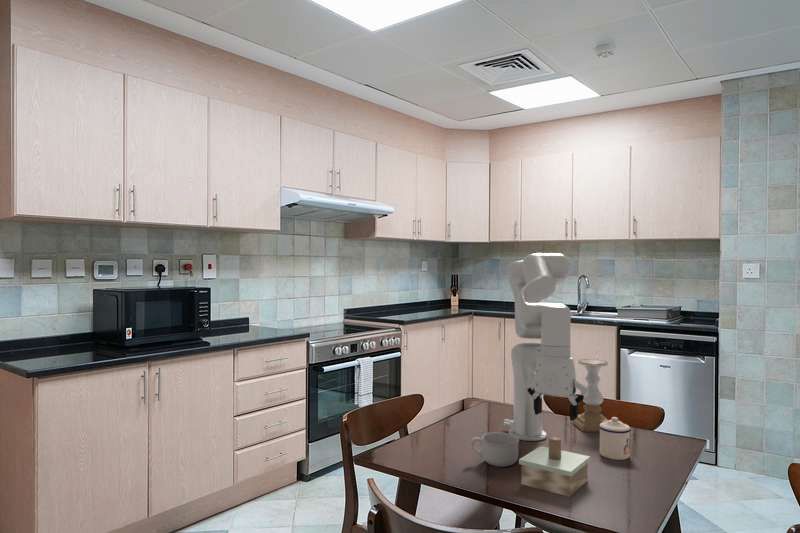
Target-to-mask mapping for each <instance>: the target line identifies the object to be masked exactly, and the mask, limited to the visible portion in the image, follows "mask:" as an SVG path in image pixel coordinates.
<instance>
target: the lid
mask: <svg viewBox="0 0 800 533" xmlns="http://www.w3.org/2000/svg"><path fill="white" fill-rule="evenodd" d="M590 462H591V456H589V455H586V454H585V455H584V454H580V453H576V452H571V451H566V450H562V439H561V438H559V437H557V436H552V437H551V436H550V437H549V438H548V447H547V446H542V445H540V446H538V447H536V448H535V449H533V450H532V451H530V452H528V453H527V454H526V455H524V456H522V457H520V458H519V459H518V464H519V465H521V466H522V465H525V466H529V467H533V468H538V469H542V470H546V471H550V472H554V473H558V474H562V475H566V476H570V477H571V476H572V475H573V474H575V473H576V472H577V471H578V470H580V469H581V468H582V467H583V466H584V465H586V464H587V463H590Z"/></svg>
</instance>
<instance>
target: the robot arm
mask: <svg viewBox="0 0 800 533" xmlns="http://www.w3.org/2000/svg"><path fill="white" fill-rule="evenodd" d="M569 275H570V263H569V260H568V258H567V256H566V255H565V254H562V253H556V252H555V253H554V252H553V253H552V252H549V253H548V252H547V253H545V252H544V253H542V252H536V253H531V254H528V255H526V256H525V257H524V258H523V259H522V260H521V259H520V260H515V261H512V262H511V263H510V264H509V265H508V268H507V278H508V283H509V285H510V288H511V291H512V293H513V297H514V327H515V334H516V336H517V337H518V338H521V339H524V340H540V342H522V343H517V344H516V345H514V346H513V347H512V348H511V352H510V353H511V354H510V358H511V364H512V365H511V366H512V372H513V373H512V374H513V375H512V376H513V412H512V413H513V420H510V419H508V418H505V419H503V426H504V427H509V428H510V429H509V430H508V434H512V435H514V436H516V437H517V438H518V439H519V441H525V442H526V441H527V442H536V441H542V440H545V439H546V438H547V435H548V434H547V432H546V431H544V429H543V396H545V395H546V396H551V397H559V398H567V399H568V400H569V402H570V403H571V404H570V405H569V420H570V421H572V422H573V420H575V419H577V417H578V415H579V404H581V402H582V401H583V399H585V397H586V395H587V393H588V391H589V389H588V388H587V386H585V385H584V384H582V383H580V382H579V381H577V376H576V375H577V374H576V369H575V362H574V358H573V357H571V321H572V316H571V309H570V307H568V305H566V304H564V303H560V302H556V303H555V302H541V301H544V300H546V299H548V298H550V297H551V296H553V294H554V292H555V291H556V286H558V285H560V284H561V283H563V282H564V281H566V280H567V278H568V277H569ZM577 390H579V392H580V393H579V395H577V394H576V393H577Z"/></svg>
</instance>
